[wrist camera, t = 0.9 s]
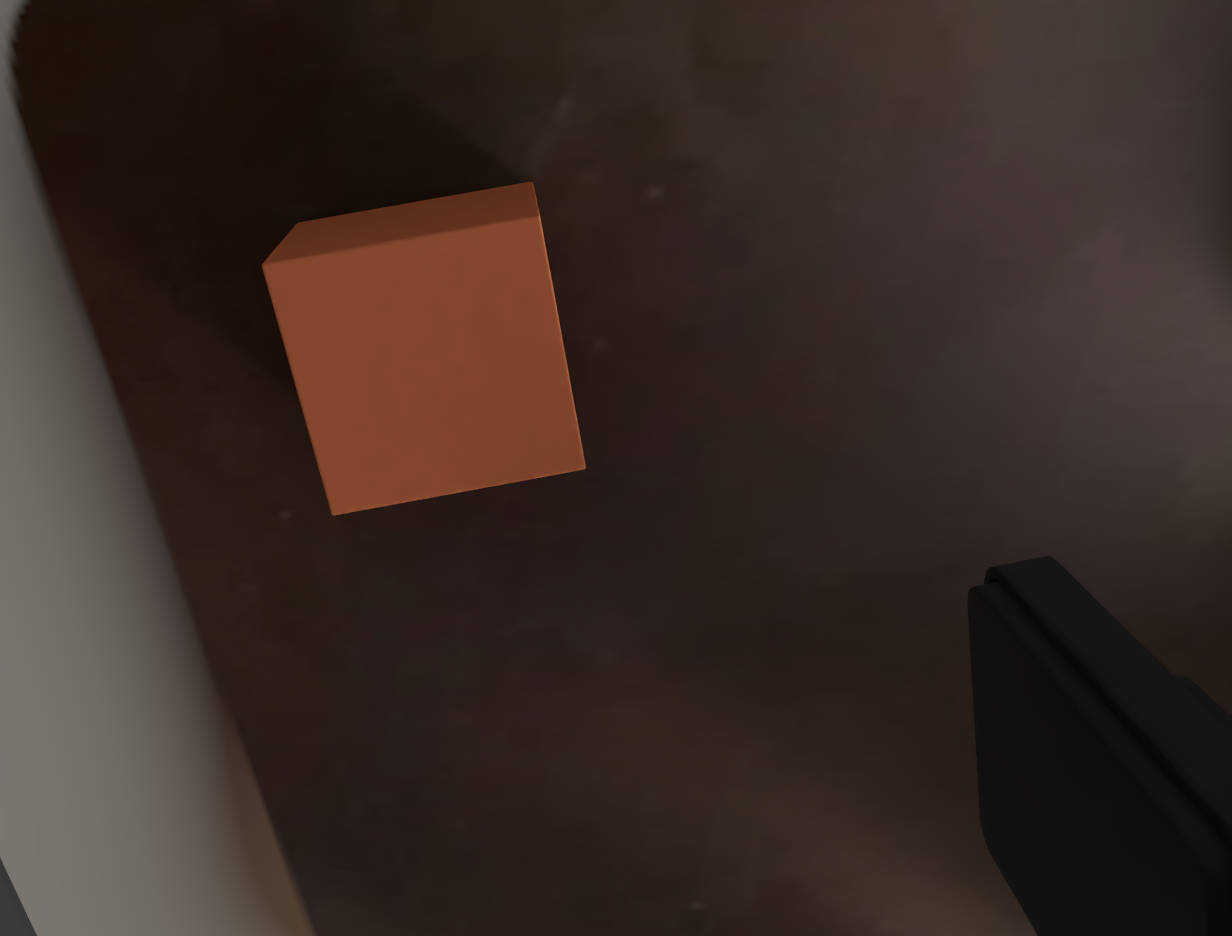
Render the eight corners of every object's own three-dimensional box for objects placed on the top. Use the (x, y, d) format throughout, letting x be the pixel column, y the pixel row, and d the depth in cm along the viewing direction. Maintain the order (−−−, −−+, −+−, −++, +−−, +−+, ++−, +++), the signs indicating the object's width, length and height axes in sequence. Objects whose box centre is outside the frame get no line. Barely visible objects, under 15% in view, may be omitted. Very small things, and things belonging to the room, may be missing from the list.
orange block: (295, 222, 24) (260, 263, 20) (532, 180, 24) (539, 214, 21) (354, 442, 26) (331, 517, 22) (573, 403, 26) (586, 470, 22)
